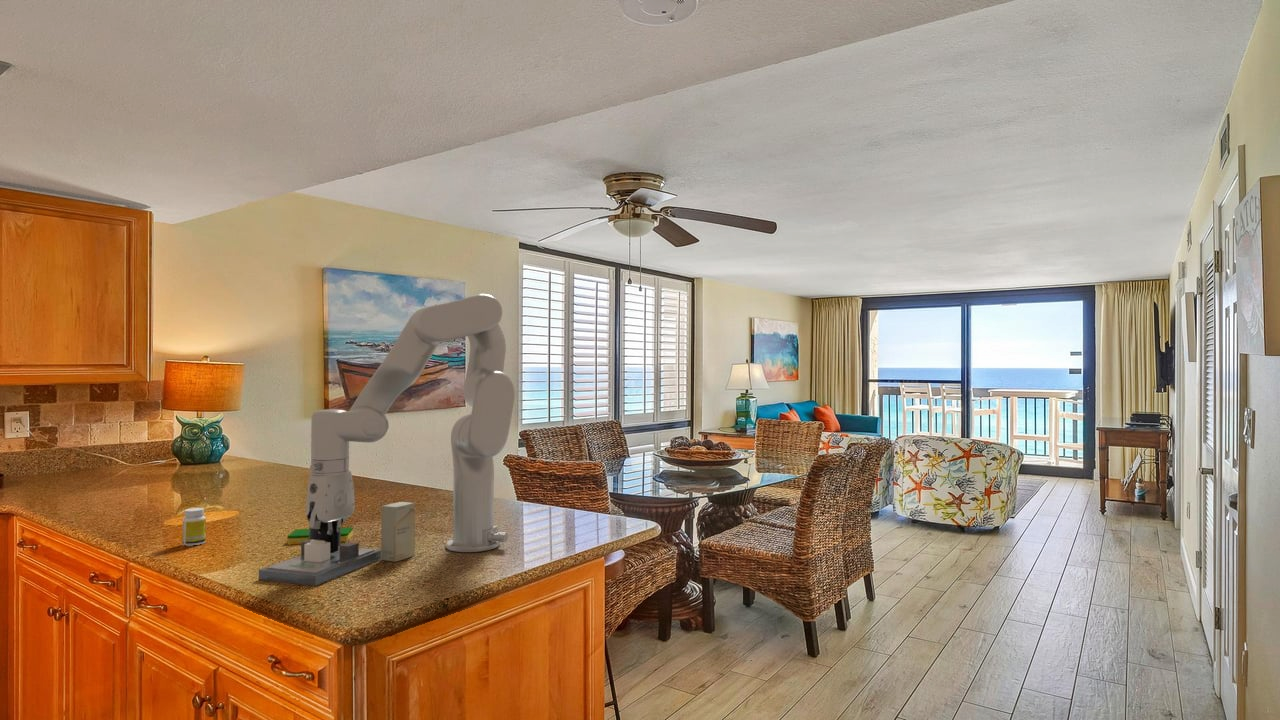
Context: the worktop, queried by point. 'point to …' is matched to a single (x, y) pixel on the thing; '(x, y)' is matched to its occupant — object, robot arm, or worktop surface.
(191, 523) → the supplement bottle
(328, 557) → the block
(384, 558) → the skincare box
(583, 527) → the worktop surface
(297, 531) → the dish sponge
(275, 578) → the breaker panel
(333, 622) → the worktop surface
